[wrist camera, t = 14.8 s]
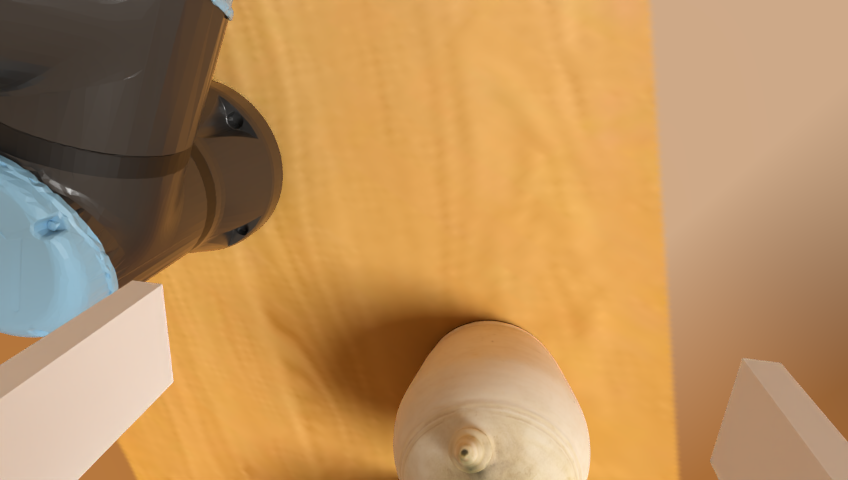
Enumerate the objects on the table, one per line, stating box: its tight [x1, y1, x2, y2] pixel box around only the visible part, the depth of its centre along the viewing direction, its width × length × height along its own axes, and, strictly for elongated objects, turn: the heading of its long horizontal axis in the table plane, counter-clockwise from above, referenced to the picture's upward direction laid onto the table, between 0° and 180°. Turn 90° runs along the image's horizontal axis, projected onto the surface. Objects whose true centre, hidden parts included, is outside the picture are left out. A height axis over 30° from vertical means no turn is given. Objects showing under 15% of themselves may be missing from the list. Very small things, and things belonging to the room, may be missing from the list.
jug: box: [393, 321, 590, 480], centre depth 41 cm, size 15×16×25 cm
